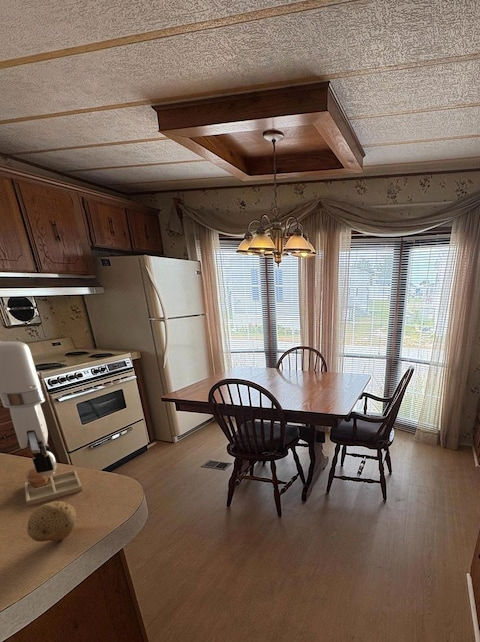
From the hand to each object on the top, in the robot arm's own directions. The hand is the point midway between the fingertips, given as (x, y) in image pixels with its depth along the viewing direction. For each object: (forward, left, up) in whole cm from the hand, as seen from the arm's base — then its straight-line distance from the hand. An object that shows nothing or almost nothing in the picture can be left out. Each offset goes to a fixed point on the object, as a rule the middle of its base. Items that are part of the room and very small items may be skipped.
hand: (45, 466), depth 86 cm
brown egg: (-11, +14, -14) cm, 22 cm away
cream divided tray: (-7, +13, -14) cm, 20 cm away
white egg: (0, 0, -2) cm, 2 cm away
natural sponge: (+4, -12, -14) cm, 19 cm away
